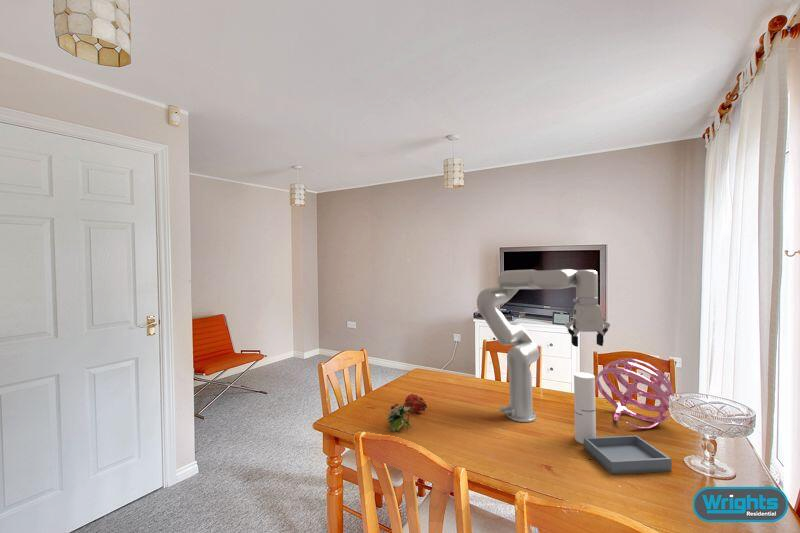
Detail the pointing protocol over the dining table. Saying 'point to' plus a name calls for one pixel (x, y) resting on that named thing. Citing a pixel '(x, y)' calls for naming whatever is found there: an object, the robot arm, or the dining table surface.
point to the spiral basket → (637, 390)
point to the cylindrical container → (584, 406)
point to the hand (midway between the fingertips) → (587, 345)
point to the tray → (627, 454)
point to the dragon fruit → (415, 403)
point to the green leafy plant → (398, 417)
